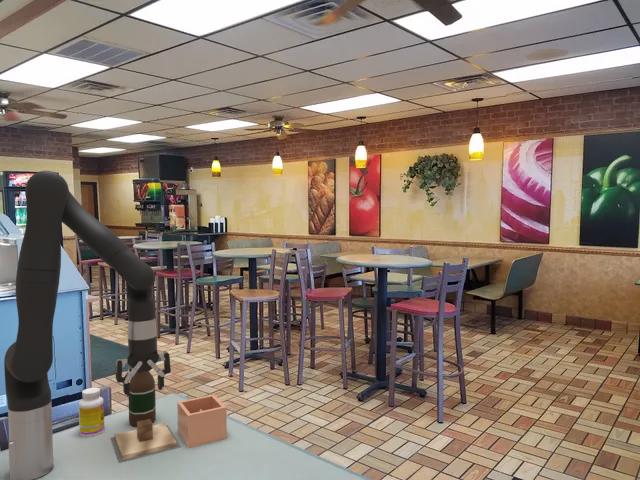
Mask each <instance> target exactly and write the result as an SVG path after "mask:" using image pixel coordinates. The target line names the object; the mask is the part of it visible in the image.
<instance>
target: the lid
mask: <svg viewBox="0 0 640 480" xmlns="http://www.w3.org/2000/svg"><path fill="white" fill-rule="evenodd" d="M166 425H167V423H166V422H163V423H157V424H154V423H152V422H151V420H150V419H146V420H142V421H137V427H136V429H131V430H128V431H122V432H119V433H118V432H117V433H114V434H113V435H114V436H113V437H114V438H115V441H116V444H117V447H118V449H119V452H120V455H121V458H122V460H125V459H129V458H133V457H137V456H141V455H145V454H149V453H153V452H157V451H161V450H165V449H169V448H172V447H176V446H177V442H176V440H175V439H174V437H173V435H174V434H173V435H172V434H171V432H170V431H169V429H168V427H169V426H168V427H167V426H166Z"/></svg>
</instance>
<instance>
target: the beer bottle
mask: <svg viewBox="0 0 640 480" xmlns="http://www.w3.org/2000/svg"><path fill="white" fill-rule="evenodd" d="M129 383H130V396H128V423H129V424H128V425H129V426H131V427H133V428H137V421H142V420H146V419H150V420H151V422H152V423H153V424H154V422H155V421H156V419H157V417H156V416H157V411H156V410H157V408H156V407H157V406H156V405H157V404H156V402H157V401H156V381H155V379H154V376H153V374H152V373H151V372H150V371H144V372H141V373H138V372H136V373H135V375H134V376H133V377H132V378H131V379H130V381H129Z"/></svg>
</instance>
